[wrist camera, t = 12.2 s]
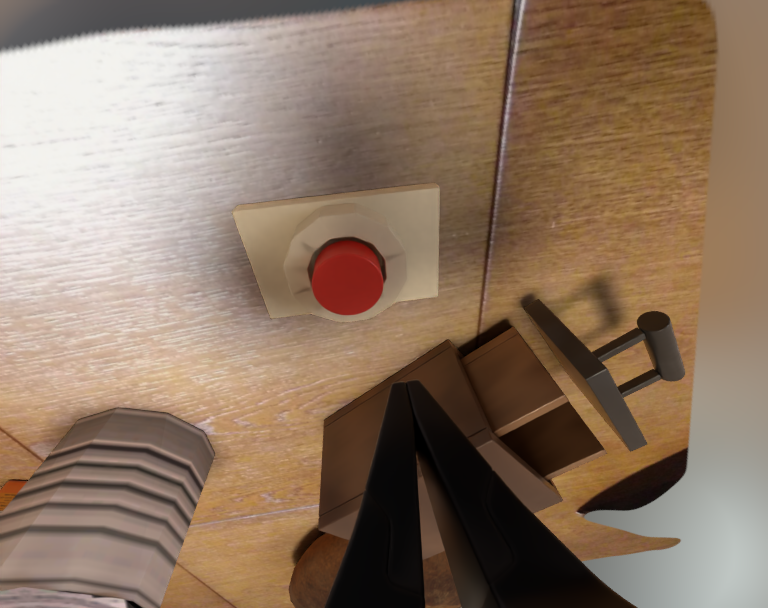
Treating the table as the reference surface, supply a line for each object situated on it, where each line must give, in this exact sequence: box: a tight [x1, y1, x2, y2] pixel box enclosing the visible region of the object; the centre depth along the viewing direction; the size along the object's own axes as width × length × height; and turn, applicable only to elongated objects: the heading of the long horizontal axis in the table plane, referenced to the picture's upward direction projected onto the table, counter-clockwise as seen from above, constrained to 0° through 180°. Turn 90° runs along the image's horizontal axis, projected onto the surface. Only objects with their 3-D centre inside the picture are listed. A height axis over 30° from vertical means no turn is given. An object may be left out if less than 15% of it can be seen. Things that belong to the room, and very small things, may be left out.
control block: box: [232, 183, 440, 323], centre depth 18 cm, size 11×7×3 cm, turn 95°
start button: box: [312, 241, 384, 315], centre depth 16 cm, size 4×4×2 cm
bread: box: [289, 533, 462, 608], centre depth 42 cm, size 28×27×9 cm
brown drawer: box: [460, 299, 685, 481], centre depth 22 cm, size 17×10×7 cm, turn 129°
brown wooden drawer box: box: [318, 340, 563, 560], centre depth 25 cm, size 14×12×9 cm
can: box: [0, 408, 215, 608], centre depth 22 cm, size 11×11×12 cm
